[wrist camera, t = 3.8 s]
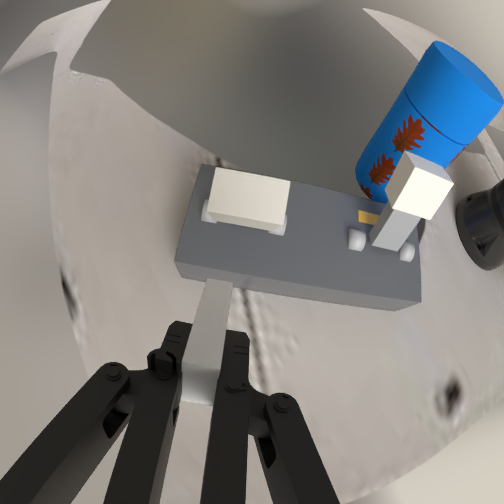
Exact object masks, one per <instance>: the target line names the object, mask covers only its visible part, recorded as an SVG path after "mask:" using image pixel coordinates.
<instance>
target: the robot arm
mask: <svg viewBox="0 0 504 504" xmlns="http://www.w3.org/2000/svg"><path fill="white" fill-rule="evenodd" d="M456 222H457V228H458V231H459V235H460V238H461V240H462V243H463V245H464V247H465V249H466V251H467V252H468V254H469V256H470V257H471V258H472V260H473V261H474V262H475V263H476V264H477V265H478V266H479V267H481V268H482V269H484V270H492V269H495V268H497V267H499V266H500V265H502V264H503V263H504V179H503V180H501V181H500V182H499V183H498V184H496V185H495V186H494V187H493V188H491V189H489V190H485V191H481V192H478V193H474V194H470V195H468V196H466V197H465V198H464V199H463V200H461V201H460V202H459V204H458V206H457V210H456ZM232 287H233V283H232V282H227V281H221V280H215V279H210V278H207V280H206V283H205V287H204V290H203V293H202V296H201V299H200V303H199V306H198V309H197V312H196V316H195V319H194V322H193V324H190V323H185V322H180V321H175V322H173V323H172V324H171V325H170V326H169V328H168V330H167V333H166V335H165V338H164V341H163V343H162V345H161V348H159V349H155V350H153V351H151V352H150V353H149V354H148V356H147V361H148V369H144V370H128V369H127V368H126V367H125V366H124V365H123V364H120V363H117V362H109V363H106V364H104V365H103V366H101V367H100V368H99V369H98V371H97V372H96V373H95V374H94V375H93V376H92V377H91V378H90V379H89V380H88V381H87V382H86V383H85V385H84V386H83V387H82V388H81V389H80V390H79V391H78V392H77V393H76V395H74V397H73V398H72V399H71V400H70V401H69V402H68V403H67V404H66V405H65V406H64V407H63V409H62V410H61V411H60V412H59V413H58V414H57V415H56V417H54V419H53V420H52V421H51V422H50V423H49V424H48V425H47V427H46V428H45V429H44V430H43V431H42V432H41V433H40V435H39V436H38V437H37V438H36V439H35V440H34V441H33V442H32V444H31V445H30V446H29V447H28V448H27V449H26V451H25V452H24V453H23V454H22V455H21V456H20V458H19V459H18V460H17V461H16V462H15V463H14V465H13V466H12V467H11V468H10V470H9V471H8V472H7V473H6V474H5V475H4V477H3V478H2V479H1V480H0V504H71V502H72V501H73V500H74V498H75V497H76V495H77V494H78V493H79V491H80V490H81V488H82V487H83V485H84V484H85V483H86V481H87V480H88V478H89V477H90V475H91V474H92V473H93V471H94V470H95V468H96V467H97V465H98V464H99V463H100V462H101V460H102V459H103V457H104V456H105V455H106V453H107V452H108V450H109V449H110V448H111V446H112V445H113V443H114V442H115V441H116V439H117V438H118V436H119V435H120V434H121V432H122V431H123V429H124V428H125V427H126V425H127V424H128V426H127V429H126V432H125V435H124V438H123V441H122V444H121V447H120V450H119V453H118V456H117V459H116V463H115V466H114V469H113V472H112V476H111V479H110V482H109V486H108V489H107V492H106V496H105V500H104V503H103V504H159V503H160V498H161V493H162V488H163V483H164V478H165V473H166V468H167V463H168V458H169V454H170V449H171V445H172V440H173V436H174V431H175V427H176V422H177V418H178V414H179V403H180V399H181V400H183V401H188V402H193V403H198V404H204V405H210V406H213V412H212V418H211V425H210V432H209V439H208V446H207V453H206V461H205V468H204V476H203V483H202V491H201V499H200V504H245V500H246V475H247V450H248V434H250V435H252V436H254V440H255V443H256V447H257V450H258V454H259V457H260V461H261V464H262V468H263V471H264V475H265V478H266V481H267V485H268V488H269V491H270V495H271V498H272V501H273V504H340V503H339V500H338V498H337V496H336V493H335V491H334V489H333V486H332V484H331V482H330V479H329V477H328V475H327V472H326V470H325V468H324V465H323V463H322V460H321V458H320V456H319V453H318V451H317V449H316V446H315V444H314V441H313V439H312V437H311V434H310V432H309V429H308V427H307V424H306V422H305V420H304V417H303V415H302V412H301V410H300V407H299V405H298V403H297V401H296V400H295V399H294V398H293V397H292V396H290V395H288V394H285V393H275V394H272V395H271V396H268V395H265V394H263V393H260V392H258V391H256V390H255V389H254V388H253V387H252V386H251V385H250V383H249V379H248V372H249V346H250V340H249V338H248V336H247V334H246V333H245V332H239V331H233V330H227V329H226V327H227V321H228V314H229V307H230V301H231V294H232ZM128 422H129V423H128Z"/></svg>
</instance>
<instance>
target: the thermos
mask: <svg viewBox="0 0 504 504" xmlns="http://www.w3.org/2000/svg"><path fill="white" fill-rule="evenodd" d="M503 104H504V100H503V98H502V96H501V94H500V92H499V91H498V89H497V88H496V87H495V85H494V84H493V83H492V82H491V80H490V79H489V78H488V77H487V76H486V75H485V74H484V73H483V72H482V71H481V70H480V69H479V68H478V67H477V66H476V65H475V64H474V63H472V62H471V61H470V60H469V59H467V58H466V57H465V56H464V55H462V54H461V53H460V52H458V51H457V50H455V49H454V48H452V47H450V46H448V45H447V44H445V43H443V42H440V41H434V42H433V43H432V44H431V45H430V46H429V48H428V49H427V50H426V52H425V53H424V55H423V57H422V58H421V60H420V62H419V63H418V65H417V67H416V69H415V70H414V72H413V74H412V75H411V77H410V78H409V80H408V82H407V83H406V86H405V87H404V88H403V90H402V91H401V93H400V95H399V96H398V98H397V100H396V101H395V103H394V104H393V106H392V107H391V109H390V111H389V112H388V114H387V115H386V117H385V119H384V120H383V122H382V123H381V125H380V126H379V128H378V129H377V131H376V133H375V134H374V136H373V137H372V139H371V140H370V142H369V143H368V145H367V146H366V148H365V150H364V152H363V153H362V155H361V157H360V159H359V161H358V162H357V166H356V169H355V172H356V179H357V181H358V183H359V185H360V187H361V189H362V190H363V192H364V193H365V194H366V195H367V196H368V197H369V198H370V199H371V200H373V201H376V202H380V203H383V204H387V202H388V200H389V199H388V197H387V194H386V192H385V188H386V186H387V184H388V182H389V180H390V178H391V176H392V174H393V173H394V171H395V169H396V167H397V165H398V163H399V161H400V159H401V157H402V155H403V153H404V151H408V152H410V153H412V154H415V155H417V156H420V157H422V158H424V159H427V160H429V161H431V162H434V163H436V164H438V165H440V166H442V167H443V168H444V169H445V168H446V167H447V166H448V165H449V164H450V163H451V162H452V161H453V160H454V159H455V158H456V157H457V156H458V155H459V154H460V153H461V152H462V151H463V150H464V149H465V148H466V147H467V146H468V145H469V143H471V142H472V141H473V139H475V138H476V137H477V135H478V134H479V133H480V132H481V131H482V130H483V129H484V128H485V127H486V126H487V125H488V124H489V123H490V121H491V120H492V119H493V118H494V117H495V116H496V115H497V113H498V112H499V110H500V109H501V107H502V106H503Z"/></svg>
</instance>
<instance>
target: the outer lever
mask: <svg viewBox="0 0 504 504" xmlns="http://www.w3.org/2000/svg"><path fill="white" fill-rule="evenodd" d="M290 182H291V181H287V180H282V179H277V178H272V177H267V176H262V175H257V174H252V173H246V172H241V171H235V170H229V169H223V168H217V167H216V169H215V174H214V178H213V183H212V188H211V193H210V197H209V202H208V207H207V212H208V214H209V215H210V217H211V218H212V220H214V221H219V222H225V223H230V224H236V225H241V226H247V227H252V228H257V229H263V230H268V231H275V230H276V229H278V228H280V227H281V226H283V224H284V218H285V212H286V206H287V200H288V194H289V188H290Z"/></svg>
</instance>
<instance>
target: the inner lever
mask: <svg viewBox="0 0 504 504" xmlns="http://www.w3.org/2000/svg"><path fill="white" fill-rule="evenodd" d="M453 184H454V183H453V181H452V180H451V178H450V177H449V175H448V174H447V172H446V171H445V170H444V168H443V167H442V166H440V165H438V164H436V163H434V162H431V161H429V160H427V159H424V158H422V157H420V156H417V155H415V154H412V153H410V152H408V151H404V153H403V155H402V157H401V159H400V161H399V163H398V165H397V167H396V169H395V171H394V173H393V174H392V176H391V178H390V180H389V182H388V184H387V186H386V188H385V192H386V194H387V197H388V199H389V200H388V202H387V204H386V206H385V207H384V209H383V211H382V213H381V214H380V216H379V218H378V219H377V221H376V223H375V224H374V226H373V228H372V229H371V231H370V233H369V237H370V241H371V245H372V246H376V247H381V248H385V249H389V250H394V251H398V250H399V249H400V247H401V246H402V245H403V243H404V242H405V240H406V239H407V238H408V236H409V235H410V233H411V232H412V231H413V229H414V228H415V226H416V225H417V223H418V222H419V220H420V219H421V217H422V218H425V219H428V220H430V219H431V218H432V216H433V215H434V214H435V212H436V211H437V209H438V208H439V206H440V205H441V203H442V202H443V200H444V198H445V197H446V195H447V194H448V192H449V191H450V189H451V187H452V186H453Z"/></svg>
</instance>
